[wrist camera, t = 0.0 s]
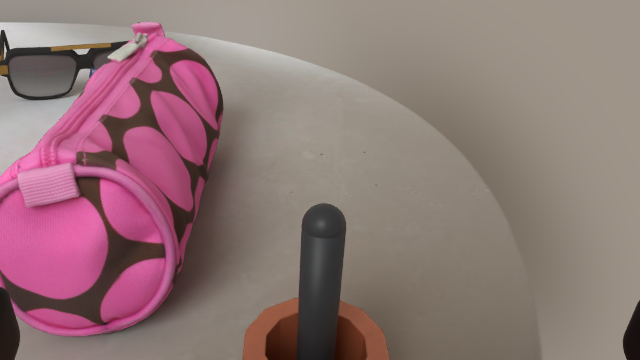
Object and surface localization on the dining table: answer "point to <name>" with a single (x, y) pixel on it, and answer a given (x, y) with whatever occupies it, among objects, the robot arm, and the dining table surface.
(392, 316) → the dining table surface
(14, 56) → the sunglasses
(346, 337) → the pen cup
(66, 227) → the pencil case
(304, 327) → the stylus
